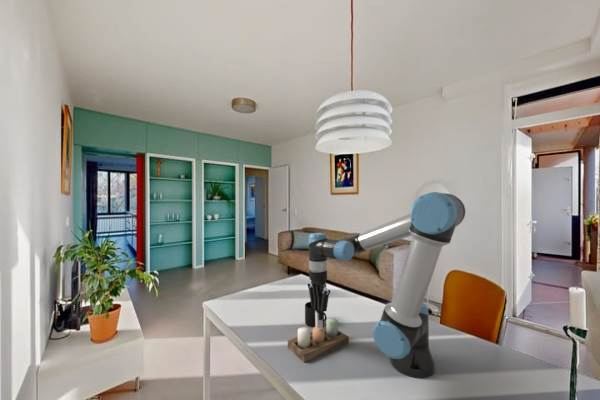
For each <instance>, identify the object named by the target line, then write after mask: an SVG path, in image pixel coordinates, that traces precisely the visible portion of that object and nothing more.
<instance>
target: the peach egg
mask: <svg viewBox="0 0 600 400" xmlns="http://www.w3.org/2000/svg"><path fill="white" fill-rule="evenodd" d="M312 332H313V341H314V342H315V343H317V344H318V343H321V342H324V341H325V332H324V327H323V326H322V327H319V328H317V327H312Z"/></svg>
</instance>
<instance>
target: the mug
mask: <svg viewBox="0 0 600 400" xmlns="http://www.w3.org/2000/svg"><path fill="white" fill-rule="evenodd" d="M327 319H328V318H327V314H326V313H325V312H323V325H324V324H325V322H326V320H327ZM304 323H305V325H306V326H307V327H311V328H314V327H315V310H314V308H313V307H311V301H308V302H306V303H305V304H304Z"/></svg>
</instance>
